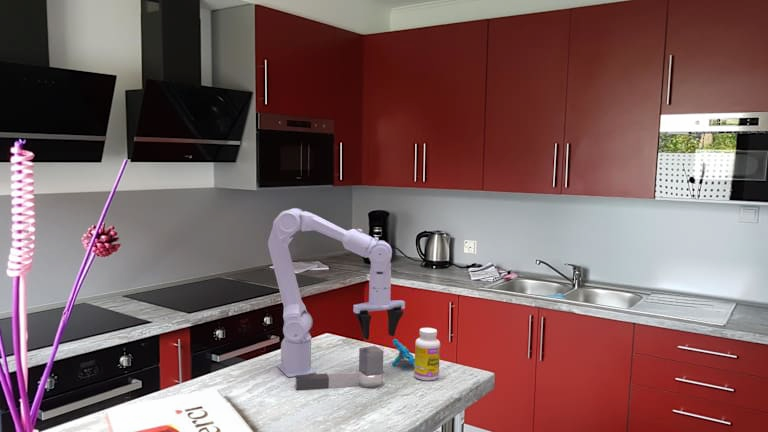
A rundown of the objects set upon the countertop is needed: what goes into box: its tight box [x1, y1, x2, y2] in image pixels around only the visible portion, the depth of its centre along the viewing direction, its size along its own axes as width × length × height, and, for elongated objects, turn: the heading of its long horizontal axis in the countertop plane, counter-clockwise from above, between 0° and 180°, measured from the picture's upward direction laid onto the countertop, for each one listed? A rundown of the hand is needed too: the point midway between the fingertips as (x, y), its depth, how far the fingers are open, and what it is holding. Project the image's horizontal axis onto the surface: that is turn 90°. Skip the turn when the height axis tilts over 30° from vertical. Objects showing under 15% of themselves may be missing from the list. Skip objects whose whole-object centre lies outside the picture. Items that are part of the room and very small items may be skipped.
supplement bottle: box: [413, 327, 441, 381], centre depth 156 cm, size 7×7×13 cm
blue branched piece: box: [391, 338, 415, 367], centre depth 165 cm, size 11×6×10 cm
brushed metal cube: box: [358, 345, 384, 376], centre depth 150 cm, size 5×5×6 cm
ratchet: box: [295, 369, 385, 391], centre depth 148 cm, size 10×22×6 cm, turn 118°
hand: (378, 336), depth 156 cm, fingers open, 7 cm apart
